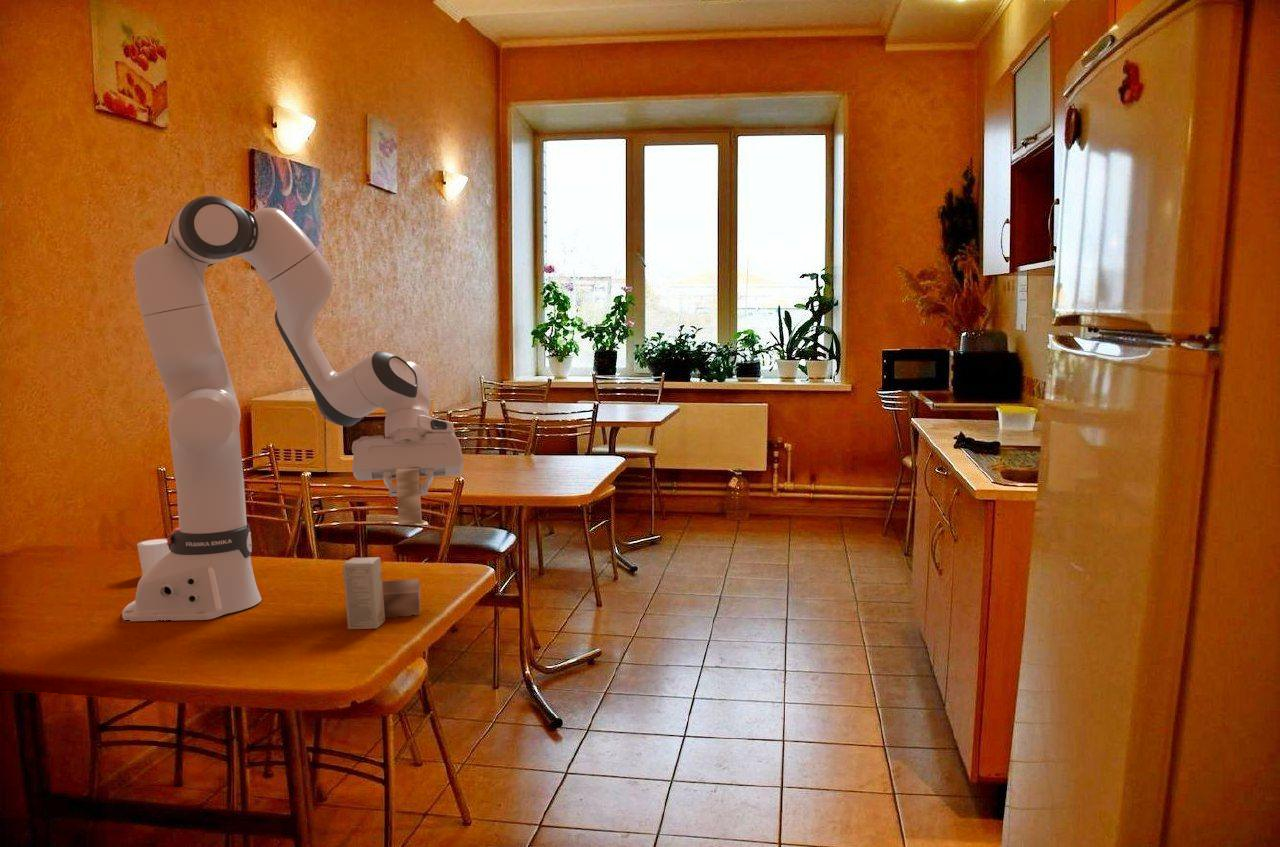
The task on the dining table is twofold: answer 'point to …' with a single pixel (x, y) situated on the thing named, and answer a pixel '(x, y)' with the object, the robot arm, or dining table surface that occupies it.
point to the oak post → (408, 495)
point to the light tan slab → (401, 597)
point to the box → (364, 593)
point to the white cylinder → (152, 552)
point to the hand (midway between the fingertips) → (408, 493)
